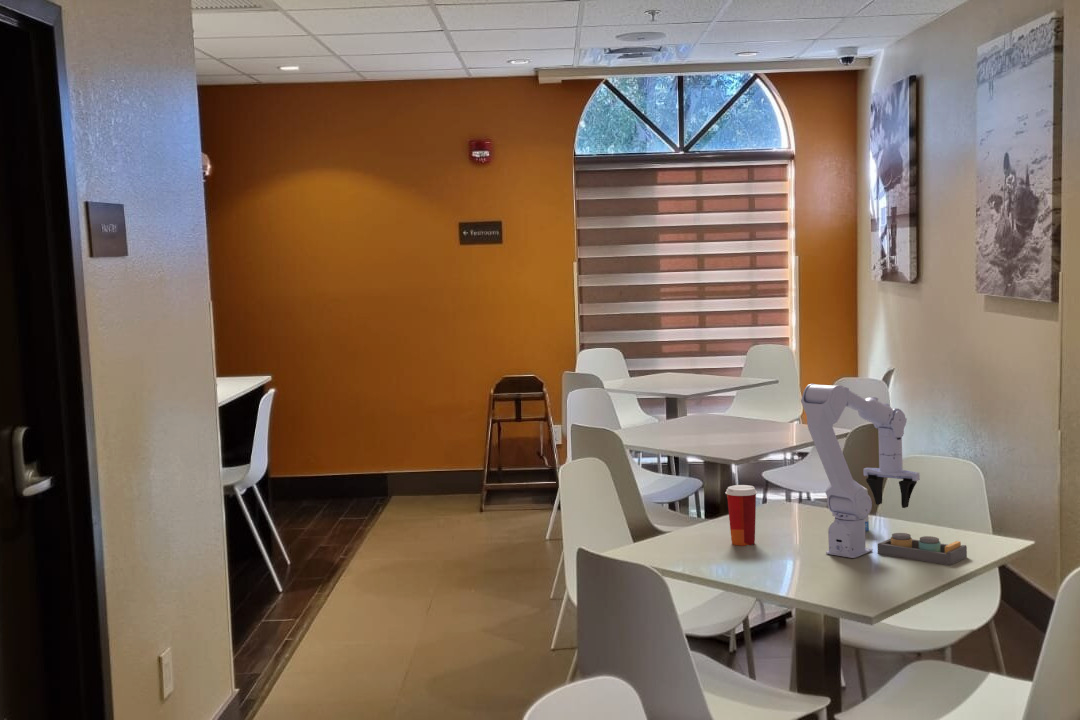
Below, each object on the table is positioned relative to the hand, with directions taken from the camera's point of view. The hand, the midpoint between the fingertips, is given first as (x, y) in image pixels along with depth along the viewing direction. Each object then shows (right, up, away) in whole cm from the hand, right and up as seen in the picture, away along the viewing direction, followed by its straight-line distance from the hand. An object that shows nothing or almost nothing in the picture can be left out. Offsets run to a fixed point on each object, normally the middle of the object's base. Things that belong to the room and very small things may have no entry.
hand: (891, 505), depth 263 cm
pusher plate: (+8, -10, -20) cm, 24 cm away
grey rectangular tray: (+2, -10, -14) cm, 18 cm away
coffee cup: (-38, -11, +6) cm, 40 cm away
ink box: (-4, -9, +17) cm, 20 cm away
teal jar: (+4, -10, -15) cm, 19 cm away
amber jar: (-1, -10, -11) cm, 15 cm away
